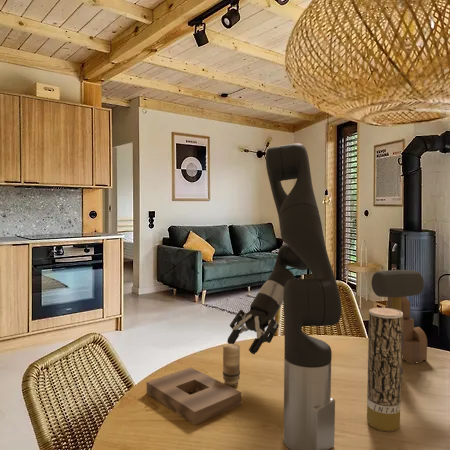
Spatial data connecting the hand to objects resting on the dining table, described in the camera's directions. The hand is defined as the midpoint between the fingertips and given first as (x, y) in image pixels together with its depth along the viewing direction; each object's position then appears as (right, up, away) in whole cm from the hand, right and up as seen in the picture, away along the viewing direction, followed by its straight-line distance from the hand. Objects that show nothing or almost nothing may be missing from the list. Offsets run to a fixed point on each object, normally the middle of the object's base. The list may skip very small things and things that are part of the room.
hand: (240, 348), depth 112 cm
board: (-12, -9, -10) cm, 18 cm away
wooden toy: (+52, -8, +20) cm, 56 cm away
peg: (-2, -9, -2) cm, 9 cm away
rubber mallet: (+43, -9, +3) cm, 44 cm away
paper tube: (+30, -10, -22) cm, 39 cm away
